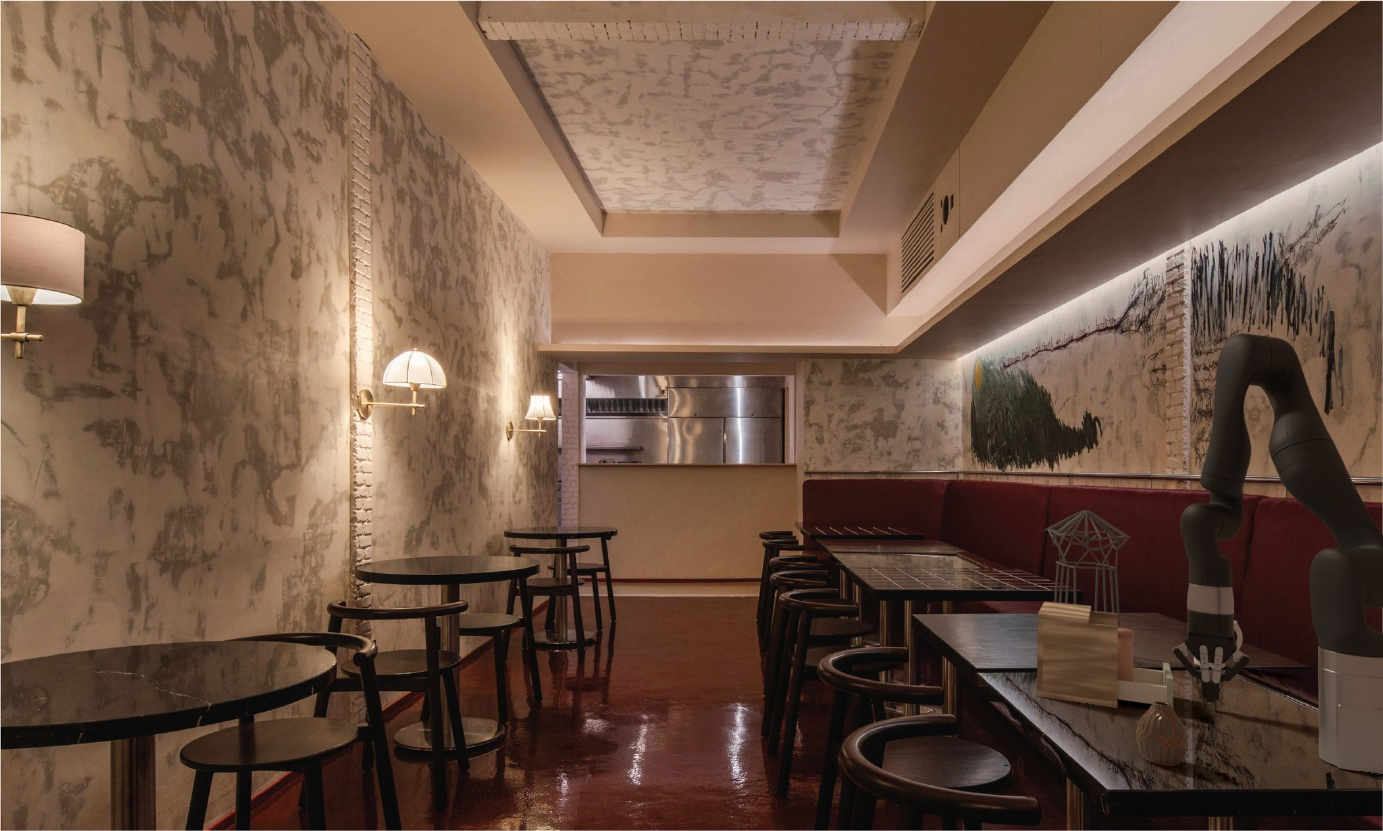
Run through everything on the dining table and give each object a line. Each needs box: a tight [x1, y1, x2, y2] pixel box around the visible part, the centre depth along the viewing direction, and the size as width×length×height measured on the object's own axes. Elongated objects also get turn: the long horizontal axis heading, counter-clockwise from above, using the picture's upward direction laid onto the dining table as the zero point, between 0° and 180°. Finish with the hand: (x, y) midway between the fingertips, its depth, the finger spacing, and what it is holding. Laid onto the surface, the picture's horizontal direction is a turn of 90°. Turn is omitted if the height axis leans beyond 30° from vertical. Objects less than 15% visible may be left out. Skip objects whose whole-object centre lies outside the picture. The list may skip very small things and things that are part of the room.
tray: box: [1117, 662, 1174, 710], centre depth 165 cm, size 15×13×6 cm
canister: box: [1118, 627, 1135, 682], centre depth 166 cm, size 6×6×11 cm
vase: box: [1135, 701, 1189, 767], centre depth 128 cm, size 7×7×9 cm
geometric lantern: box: [1043, 509, 1131, 628], centre depth 205 cm, size 16×16×35 cm
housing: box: [1036, 601, 1118, 709], centre depth 169 cm, size 18×14×16 cm
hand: (1210, 701), depth 159 cm, fingers closed
